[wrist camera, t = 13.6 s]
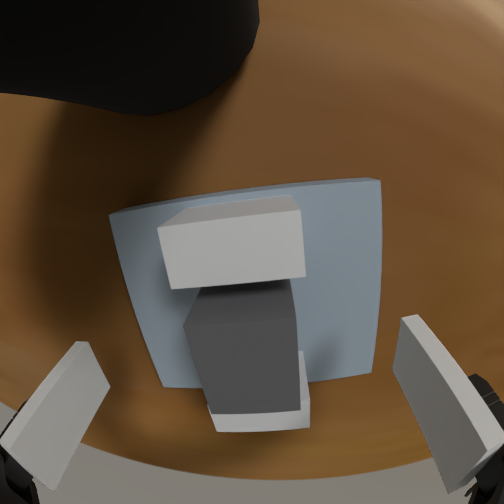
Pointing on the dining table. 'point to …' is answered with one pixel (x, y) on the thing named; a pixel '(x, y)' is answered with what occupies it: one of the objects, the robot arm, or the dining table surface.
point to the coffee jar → (123, 50)
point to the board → (314, 295)
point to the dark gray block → (246, 347)
